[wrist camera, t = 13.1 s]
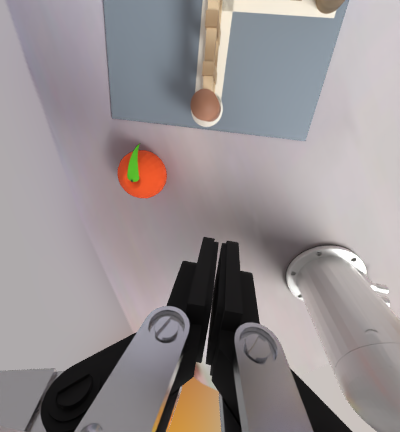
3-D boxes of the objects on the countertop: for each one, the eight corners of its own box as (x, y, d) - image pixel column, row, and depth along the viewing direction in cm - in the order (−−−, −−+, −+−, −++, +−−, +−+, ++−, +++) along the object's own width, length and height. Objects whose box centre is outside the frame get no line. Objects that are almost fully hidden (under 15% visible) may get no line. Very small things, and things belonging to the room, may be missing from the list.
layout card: (378, -97, 19) (380, -101, 18) (304, 141, 27) (305, 141, 27) (97, -102, 21) (95, -106, 21) (113, 118, 30) (111, 118, 30)
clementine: (130, 137, 31) (103, 140, 24) (173, 143, 30) (158, 148, 24) (131, 187, 34) (108, 201, 28) (170, 193, 33) (156, 209, 27)
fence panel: (205, 1, 23) (196, -41, 17) (231, 1, 22) (231, -41, 17) (198, 121, 28) (189, 119, 22) (219, 122, 27) (216, 121, 22)
